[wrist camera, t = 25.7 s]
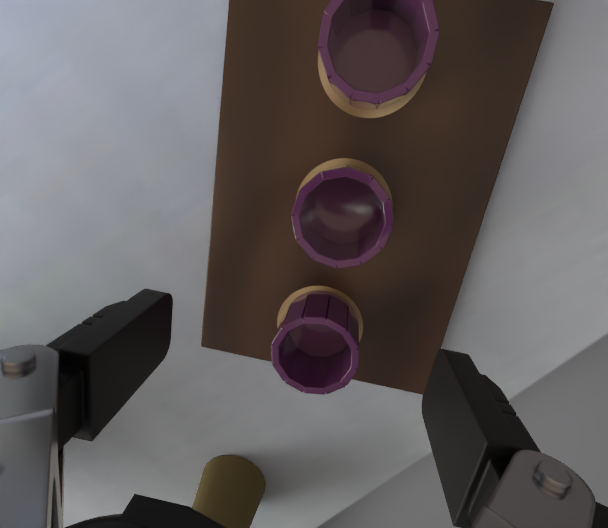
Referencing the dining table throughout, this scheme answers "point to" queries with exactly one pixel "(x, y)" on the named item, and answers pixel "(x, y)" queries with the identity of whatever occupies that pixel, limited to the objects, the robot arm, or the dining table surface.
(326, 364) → the plum dish
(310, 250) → the plum dish
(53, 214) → the dining table surface
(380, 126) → the metal board
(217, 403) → the dining table surface
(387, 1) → the plum dish
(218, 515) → the yellow pawn figure
